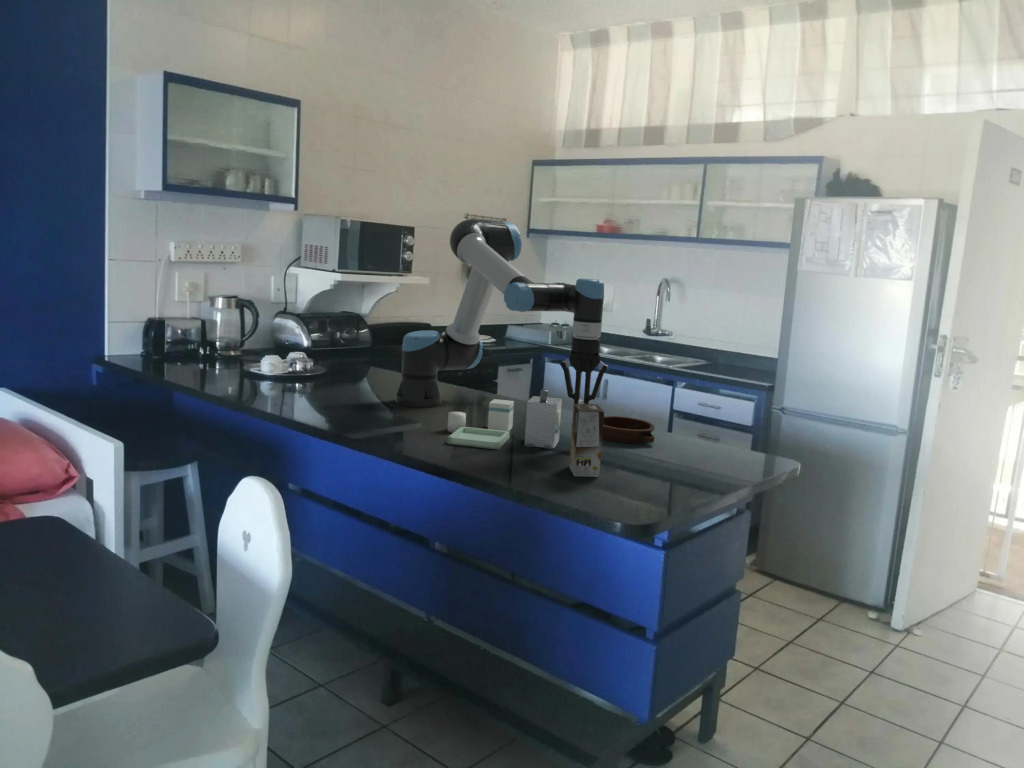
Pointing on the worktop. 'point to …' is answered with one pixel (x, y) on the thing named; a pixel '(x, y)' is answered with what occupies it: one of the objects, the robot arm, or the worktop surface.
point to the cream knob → (456, 421)
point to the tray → (478, 437)
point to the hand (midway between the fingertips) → (579, 424)
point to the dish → (627, 430)
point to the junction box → (543, 421)
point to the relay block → (500, 415)
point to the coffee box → (586, 440)
